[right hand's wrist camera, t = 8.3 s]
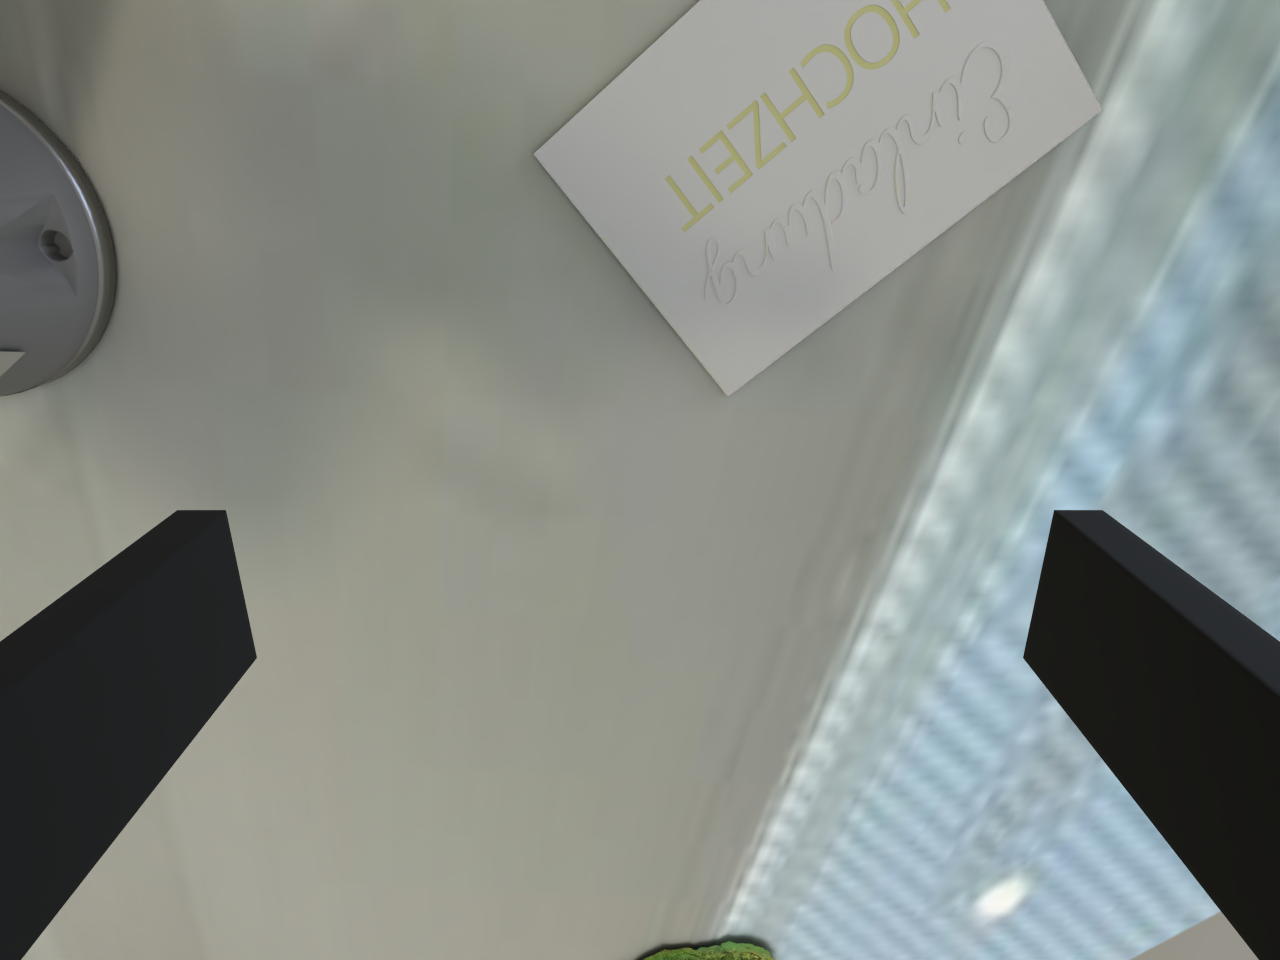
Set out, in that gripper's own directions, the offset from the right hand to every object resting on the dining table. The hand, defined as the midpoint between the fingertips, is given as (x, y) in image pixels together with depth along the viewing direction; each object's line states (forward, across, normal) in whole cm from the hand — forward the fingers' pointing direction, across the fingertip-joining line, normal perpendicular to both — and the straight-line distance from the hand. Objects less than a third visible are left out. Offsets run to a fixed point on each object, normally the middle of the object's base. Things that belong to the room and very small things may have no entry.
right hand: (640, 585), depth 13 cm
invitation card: (+29, -8, -8) cm, 31 cm away
